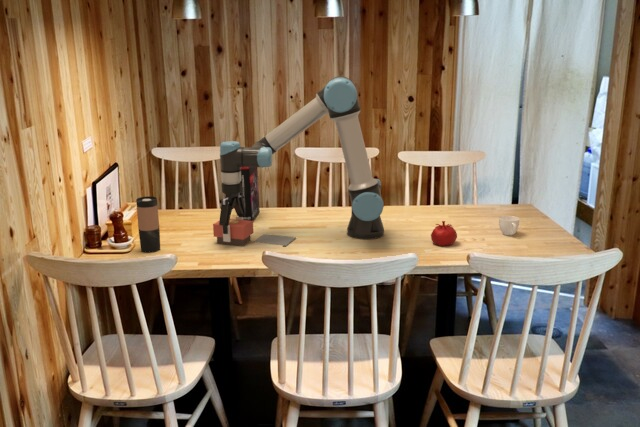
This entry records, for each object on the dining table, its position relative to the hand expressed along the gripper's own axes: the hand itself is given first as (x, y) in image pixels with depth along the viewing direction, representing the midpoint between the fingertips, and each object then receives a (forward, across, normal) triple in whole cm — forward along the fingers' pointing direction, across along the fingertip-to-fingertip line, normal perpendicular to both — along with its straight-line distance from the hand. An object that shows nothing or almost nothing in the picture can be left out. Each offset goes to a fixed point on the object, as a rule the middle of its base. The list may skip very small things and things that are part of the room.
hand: (233, 237), depth 244 cm
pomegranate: (+3, -24, +78) cm, 82 cm away
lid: (-1, 0, 0) cm, 1 cm away
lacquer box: (+3, 0, 0) cm, 3 cm away
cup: (+3, -44, +102) cm, 111 cm away
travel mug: (+3, +16, -27) cm, 32 cm away
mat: (+3, -8, +14) cm, 16 cm away
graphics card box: (+3, -36, -10) cm, 37 cm away
